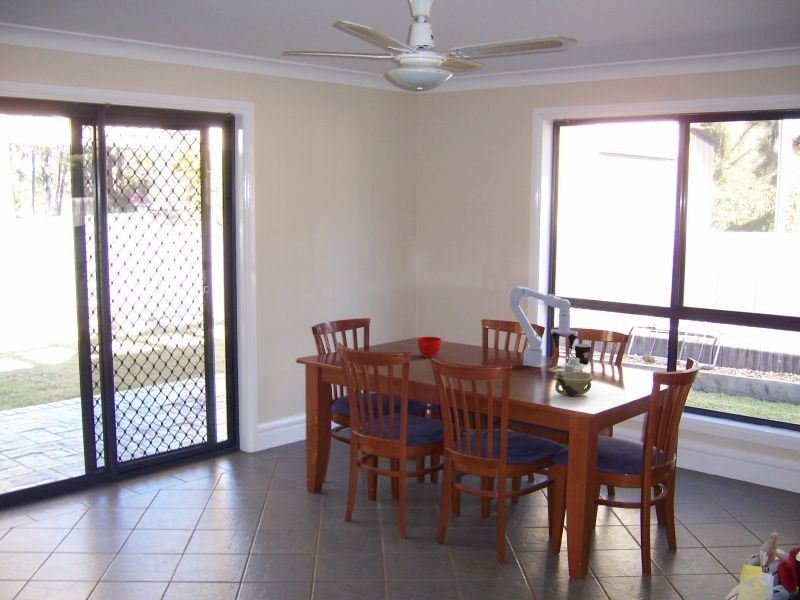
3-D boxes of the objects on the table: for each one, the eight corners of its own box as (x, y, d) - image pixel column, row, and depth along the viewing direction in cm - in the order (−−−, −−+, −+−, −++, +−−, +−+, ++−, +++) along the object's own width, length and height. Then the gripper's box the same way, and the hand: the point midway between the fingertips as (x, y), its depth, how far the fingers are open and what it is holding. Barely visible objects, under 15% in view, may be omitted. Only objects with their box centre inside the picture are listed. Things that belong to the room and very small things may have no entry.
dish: (562, 368, 422) (562, 364, 422) (570, 365, 429) (570, 361, 429) (578, 371, 417) (578, 367, 416) (586, 368, 424) (586, 364, 424)
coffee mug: (589, 362, 439) (589, 344, 438) (591, 365, 431) (592, 347, 429) (567, 361, 440) (568, 343, 439) (569, 364, 432) (569, 346, 430)
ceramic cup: (411, 359, 444) (411, 341, 443) (422, 353, 460) (422, 336, 458) (433, 361, 439) (434, 343, 438) (444, 355, 455) (444, 337, 454)
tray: (547, 372, 415) (547, 369, 414) (557, 368, 423) (557, 365, 423) (572, 376, 406) (572, 373, 406) (582, 372, 415) (582, 369, 414)
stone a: (569, 367, 422) (569, 358, 422) (573, 366, 426) (573, 357, 425) (575, 368, 420) (575, 359, 419) (579, 367, 423) (579, 358, 423)
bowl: (586, 389, 379) (587, 370, 378) (596, 400, 361) (597, 379, 360) (549, 390, 378) (549, 370, 377) (558, 400, 361) (558, 379, 359)
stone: (564, 373, 409) (565, 365, 409) (566, 372, 413) (566, 364, 412) (572, 374, 408) (573, 366, 407) (574, 372, 411) (574, 365, 410)
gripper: (548, 322, 424) (548, 347, 426) (573, 324, 415) (573, 350, 417) (554, 320, 430) (554, 345, 432) (579, 322, 421) (579, 348, 423)
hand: (564, 347), depth 425 cm, fingers open, 7 cm apart
